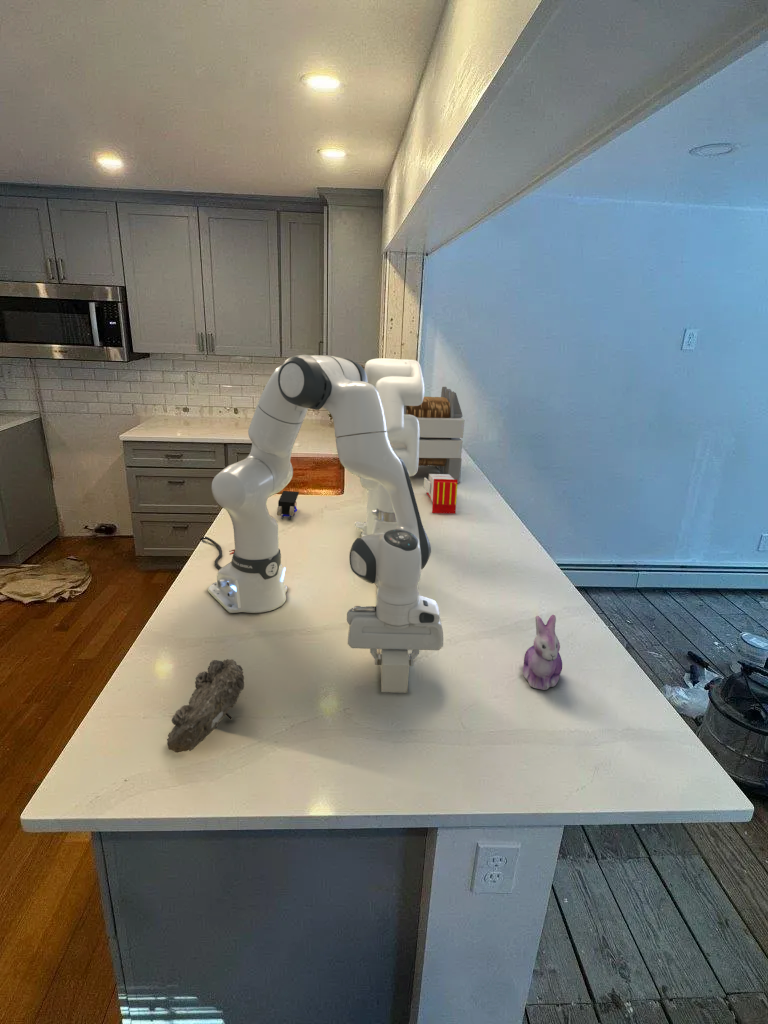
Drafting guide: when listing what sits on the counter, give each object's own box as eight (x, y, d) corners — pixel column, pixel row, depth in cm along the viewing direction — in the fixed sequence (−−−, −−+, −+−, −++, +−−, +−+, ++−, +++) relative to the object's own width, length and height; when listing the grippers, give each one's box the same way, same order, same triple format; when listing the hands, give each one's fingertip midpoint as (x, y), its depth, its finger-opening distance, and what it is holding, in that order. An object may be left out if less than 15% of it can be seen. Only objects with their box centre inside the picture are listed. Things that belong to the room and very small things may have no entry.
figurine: (541, 697, 118) (551, 634, 112) (509, 670, 126) (518, 610, 121) (575, 685, 122) (586, 624, 117) (542, 660, 130) (551, 602, 125)
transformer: (382, 463, 289) (386, 382, 275) (445, 464, 293) (451, 384, 279) (390, 482, 257) (394, 392, 243) (460, 483, 261) (468, 394, 247)
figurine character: (294, 525, 207) (299, 507, 220) (294, 506, 203) (299, 489, 217) (276, 524, 206) (282, 506, 220) (275, 506, 203) (281, 489, 216)
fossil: (192, 660, 117) (244, 628, 112) (224, 691, 120) (276, 661, 115) (142, 746, 98) (202, 712, 93) (182, 779, 101) (242, 748, 96)
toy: (450, 470, 246) (461, 480, 217) (448, 500, 249) (459, 514, 219) (422, 469, 246) (430, 479, 216) (421, 499, 248) (428, 514, 219)
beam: (377, 567, 173) (378, 546, 171) (395, 567, 174) (396, 547, 171) (381, 692, 117) (382, 664, 115) (407, 692, 117) (409, 665, 115)
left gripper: (346, 613, 114) (345, 671, 119) (447, 616, 115) (442, 673, 120) (347, 598, 120) (346, 654, 125) (443, 601, 121) (438, 656, 126)
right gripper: (359, 518, 157) (358, 577, 163) (421, 520, 158) (417, 578, 164) (360, 509, 164) (358, 565, 170) (419, 511, 165) (415, 567, 171)
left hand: (394, 663), depth 122 cm, fingers closed on beam, 5 cm apart
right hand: (387, 571), depth 167 cm, fingers closed on beam, 5 cm apart
